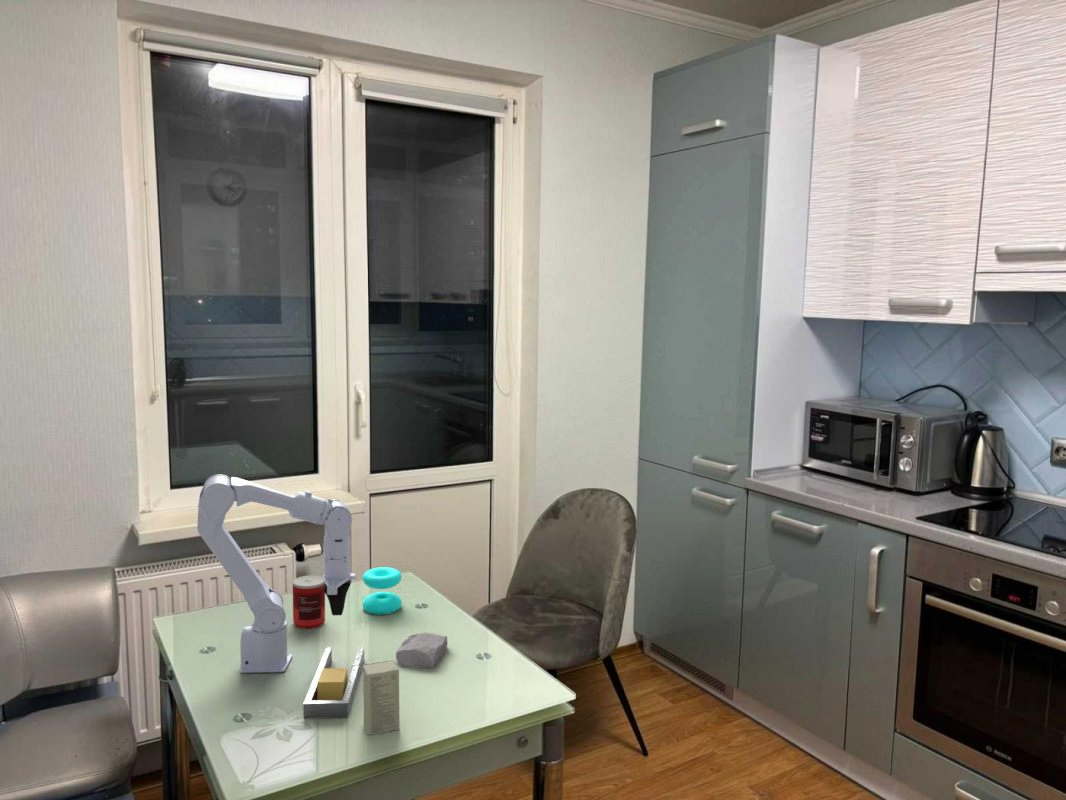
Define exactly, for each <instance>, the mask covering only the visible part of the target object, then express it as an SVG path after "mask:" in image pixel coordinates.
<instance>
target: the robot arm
mask: <svg viewBox="0 0 1066 800" xmlns="http://www.w3.org/2000/svg"><path fill="white" fill-rule="evenodd" d="M201 488H202V489H201V491H200V492H199V499H198V505H197V510H198V512H197V527H196V528H197V529H196V530H197V533H198V534H199V536H200V537H201V539H202V540H203V542H204V543H205V544H206V546H207V547H208V548H209V550H210V551H211V553H212V554H213V555H214V556H215V558H216V559H217V561H218V562H219V563H220V565H221V566H222V568H223V569H224V571H225V572H226V573H227V574H228V576H229V578H230V579H231V580H232V581H233V582H234V584H235V586H236V587H237V588H238V589H239V591H240V592H241V594H242V595H243V597H244V598H245V601H246V602H247V605H248V607H249V609H250V611H251V613H252V614H253V616H254V622H252V625H246V626H245V625H244V627H243V628H242V632H241V635H240V642H239V643H240V644H239V645H240V670H239V672H240V673H243V674H247V673H248V674H249V673H284V672H286V670H287V668H288V667H289V664H290V662H291V660H292V658H293V654H292V653H291V654H290V653H288V627H287V626H288V621H287V620H286V611H285V607H284V599H283V596H282V595H281V593H280V592H278V591H277V590H274V589H272V588H271V587H270V586H269V584H268V583H267V582H266V581H264V580H263V579H262V578H261V576H260V574H259V573H258V572H257V570H256V569H255V567H254V565H252V563H251V562H250V560H249V559H248V558H247V556H246V554H244V552H243V551H242V549H241V548H240V546H239V545H238V543H237V542H236V541H235V539H234V538H233V536H232V535H231V533H230V532H229V531H228V529H227V528H226V527H225V525H224V522H225V519H226V515H227V514H228V513H229V511H230V509H231V508H232V507H233V505H234V504H235V502H236V507H240V506H243V505H245V504H248V503H255V504H256V503H257V504H260V505H265V506H269V507H274V508H278V509H283V510H286V511H287V512H288V513H289V515H290V517H291V518H293V519H297V520H299V521H305V522H308V523H312V524H315V525H318V526H319V525H320V526H321V525H324V536H323V574H322V578H323V580H324V581H325V584H324V586H323V590H324V592H325V596H326V597H327V600H328V603H329V606H330V611H331V614H332V616H343V613H344V609H345V604H346V598H347V593H348V591H349V589H350V586H351V584H352V580H353V579H356V577H357V574H356V573H354V572H353V573H352V572H351V535H350V532H351V529H350V528H351V525H352V523H353V517H352V514H351V511H350V510H349V508H348V506H347V505H346V503H344V502H343V501H341V500H339V499H337V498H336V499H333V498H331V497H328V498H327V499H326V498H323V497H320V496H316V495H313V493H312V491H310V490H305V492H302V491H299V492H296V493H294V494H289V493H286V492H282V491H279V490H277V489H273V488H271V487H267V486H265V485H262V484H260V483H256V482H253V481H249V480H246V479H243V478H240V477H236V476H231V477H229V476H228V475H226V474H220V473H219V474H214V475H212V476H209V477H208V478H207V479H206V480H205V482H204V484H203V486H202V487H201Z"/></svg>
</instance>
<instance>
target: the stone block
mask: <svg viewBox="0 0 1066 800" xmlns="http://www.w3.org/2000/svg"><path fill="white" fill-rule="evenodd" d="M447 648H448V636H447V635H442V634H437V633H433V632H421V633H415V634H411V635H409V636H407V638H406V639H404V640H403V641H402V643H401V645H400V646H399V647H398V648H397V650H396V652H395V659H396V662H397V663H398V664H399V665H400V666H405V667H419V668H428V669H429V668H430V669H432V668H435V665H437V662H439V660H440V659H441V657H442V655H443V654H444V652H445V651H446V650H447Z"/></svg>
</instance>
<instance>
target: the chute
mask: <svg viewBox="0 0 1066 800" xmlns="http://www.w3.org/2000/svg"><path fill="white" fill-rule="evenodd" d="M332 648H333V647H330V646H329V647H325V649H324V652H323V654H322V657H321V659H320V661H319V664H318V667H317V669H316V672H315V675H314V677H313V679H312V681H311V684H310V686H309V689H308V691H307V694H306V696H305V699H304V701H303V706H302V711H303V719H347V718H349V714H350V712H351V708H352V705H353V700H354V698H355V697H354V696H355V695H356V690H357V687H358V684H359V680H360V677H361V673H362V671H363V665H364V662H365V646H359V647H358V648H357V653H356V656H355V658H354V661H353V663H352V666H351V670H350V674H349V677H348V679H347V683H348V684H347V687H346V690H345V693H344V696H343V700H321V701H318V694H317V682H318V679H319V677H320V674H321V672H322V669H325V668H330V666H331V664H332V661H333V657H332V656H333V649H332Z"/></svg>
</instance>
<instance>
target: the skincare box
mask: <svg viewBox="0 0 1066 800" xmlns="http://www.w3.org/2000/svg"><path fill="white" fill-rule="evenodd" d="M362 677H363V678H362V679H363V680H362V682H363V683H362V685H363V725H364V728H365V731H366V734H367V736H372V735H377V734H383V733H387V732H391V731H397V730H400V727H401V725H400V721H401V720H400V669H399V667H398V665H397V663H396V661H395V660H394V659H391V660H385V661H379V662H375V663H374V662H373V663H368V664H367V663H366V664H363V666H362Z"/></svg>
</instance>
